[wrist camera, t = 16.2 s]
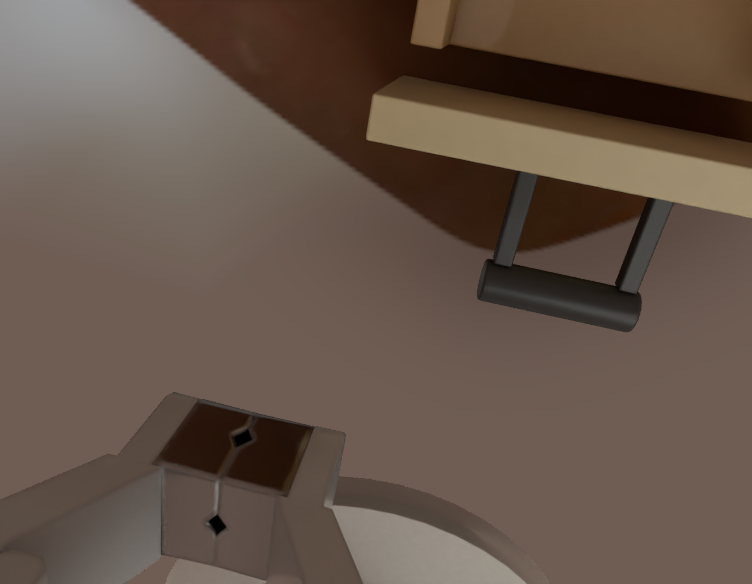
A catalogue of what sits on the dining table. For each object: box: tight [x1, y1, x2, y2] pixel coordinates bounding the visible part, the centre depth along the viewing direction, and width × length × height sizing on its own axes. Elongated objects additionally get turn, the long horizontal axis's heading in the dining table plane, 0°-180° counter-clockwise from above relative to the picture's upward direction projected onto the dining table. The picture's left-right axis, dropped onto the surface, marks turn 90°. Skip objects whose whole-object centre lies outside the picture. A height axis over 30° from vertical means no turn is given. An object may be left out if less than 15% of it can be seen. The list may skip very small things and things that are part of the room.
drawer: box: [366, 0, 752, 332], centre depth 16 cm, size 18×13×7 cm
